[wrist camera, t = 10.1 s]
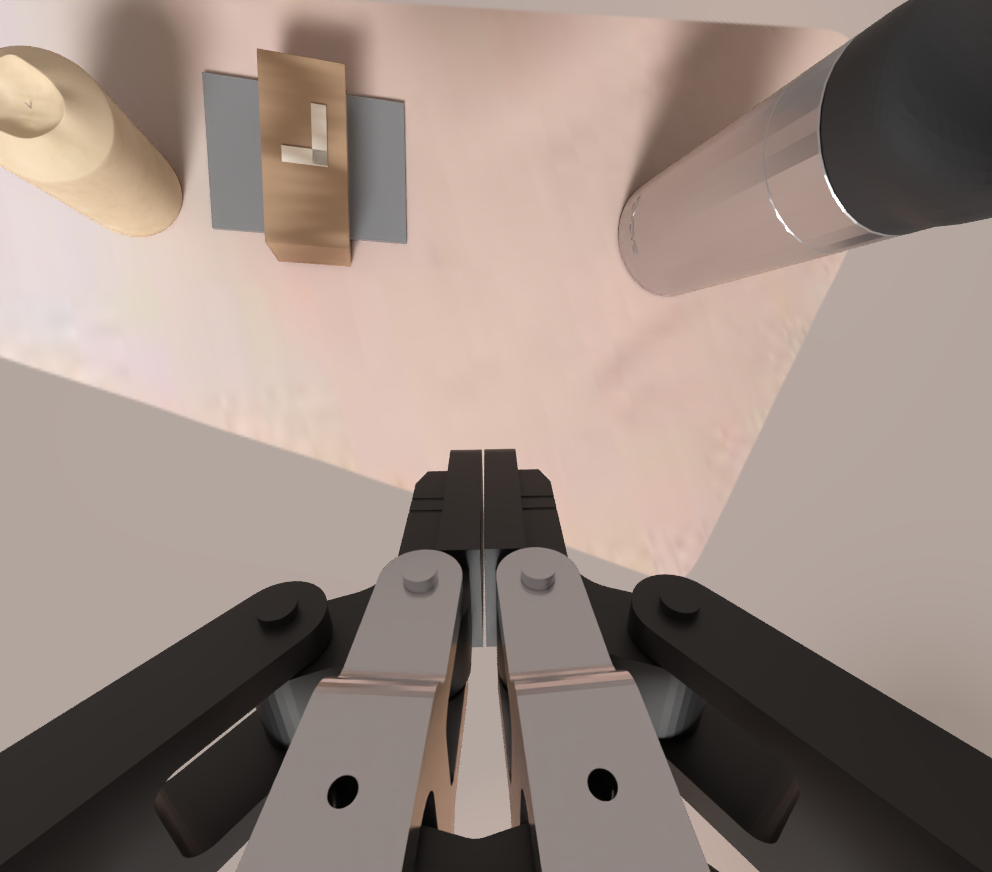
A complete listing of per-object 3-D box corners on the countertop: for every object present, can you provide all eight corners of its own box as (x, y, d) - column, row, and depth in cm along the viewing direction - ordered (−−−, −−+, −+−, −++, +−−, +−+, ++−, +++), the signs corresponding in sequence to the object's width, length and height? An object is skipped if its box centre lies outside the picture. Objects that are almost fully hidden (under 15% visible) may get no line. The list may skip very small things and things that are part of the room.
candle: (76, 132, 28) (-75, 1, 18) (184, 152, 29) (97, 41, 20) (77, 229, 28) (-70, 153, 19) (183, 244, 30) (97, 180, 20)
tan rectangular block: (350, 266, 32) (347, 107, 31) (348, 248, 28) (344, 62, 27) (278, 261, 31) (272, 96, 30) (264, 241, 27) (256, 46, 25)
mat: (403, 105, 32) (403, 103, 32) (406, 243, 33) (406, 242, 33) (203, 75, 29) (202, 72, 29) (213, 229, 30) (212, 227, 30)
